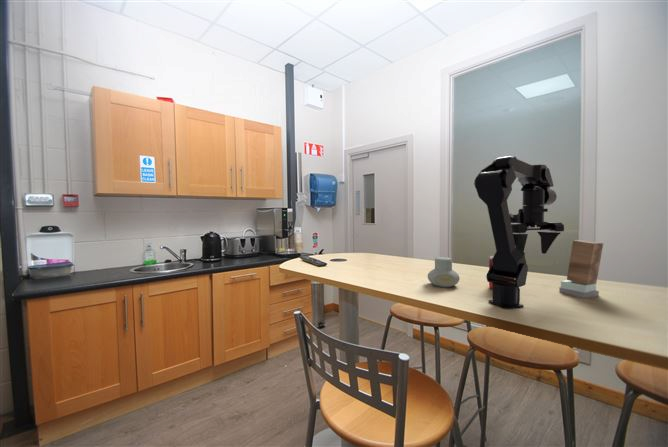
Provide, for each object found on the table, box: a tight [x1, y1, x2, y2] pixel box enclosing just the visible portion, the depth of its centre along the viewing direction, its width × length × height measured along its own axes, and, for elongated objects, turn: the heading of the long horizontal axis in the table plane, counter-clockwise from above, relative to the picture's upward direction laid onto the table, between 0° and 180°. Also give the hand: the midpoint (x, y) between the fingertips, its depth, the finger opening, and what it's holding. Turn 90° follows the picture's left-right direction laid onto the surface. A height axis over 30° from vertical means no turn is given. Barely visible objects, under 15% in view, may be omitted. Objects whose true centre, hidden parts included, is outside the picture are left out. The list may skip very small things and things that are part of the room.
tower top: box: [560, 279, 597, 293], centre depth 93 cm, size 7×7×2 cm
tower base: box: [559, 286, 600, 299], centre depth 93 cm, size 7×7×2 cm
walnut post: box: [566, 239, 604, 285], centre depth 92 cm, size 6×6×13 cm
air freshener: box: [427, 256, 460, 288], centre depth 106 cm, size 11×8×10 cm
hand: (532, 254), depth 93 cm, fingers open, 9 cm apart
